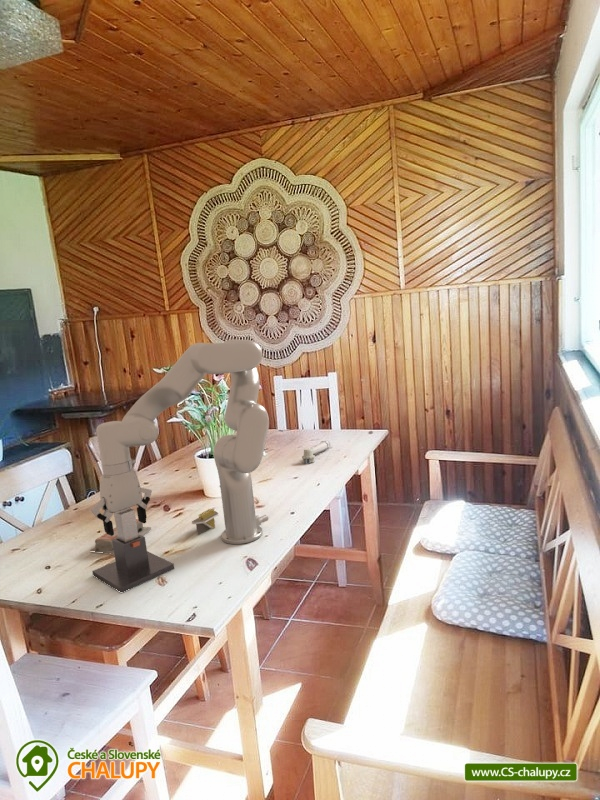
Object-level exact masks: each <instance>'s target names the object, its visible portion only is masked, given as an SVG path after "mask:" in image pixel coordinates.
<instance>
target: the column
mask: <svg viewBox="0 0 600 800" xmlns="http://www.w3.org/2000/svg"><path fill="white" fill-rule="evenodd" d="M113 515H114V522H115V528H116V529H117V535H118V541H120V542H122V543H124V544H126V543H128V542H131V541H133V540H136V539H138V538H139V536H138V530H137V523H136V519H137V518H136V512H135V509H134V508H132V507H130V508H127V509H124V510H121V511H118V512H115V513H113Z"/></svg>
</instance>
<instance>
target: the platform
mask: <svg viewBox="0 0 600 800" xmlns="http://www.w3.org/2000/svg"><path fill="white" fill-rule="evenodd" d="M218 516H219V512H217V511H216V510H215V509H214V508H209V509H207V510H205V511H203V512H201V513H199V514H198V518H196V519H194V520H193V521H192V520H191V525H195V527H196V535H197V536H200V535H201V534H203V533H204V532H206V531H208V530H210V529H213V530H214V529H216V524H215V518H216V517H218Z"/></svg>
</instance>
